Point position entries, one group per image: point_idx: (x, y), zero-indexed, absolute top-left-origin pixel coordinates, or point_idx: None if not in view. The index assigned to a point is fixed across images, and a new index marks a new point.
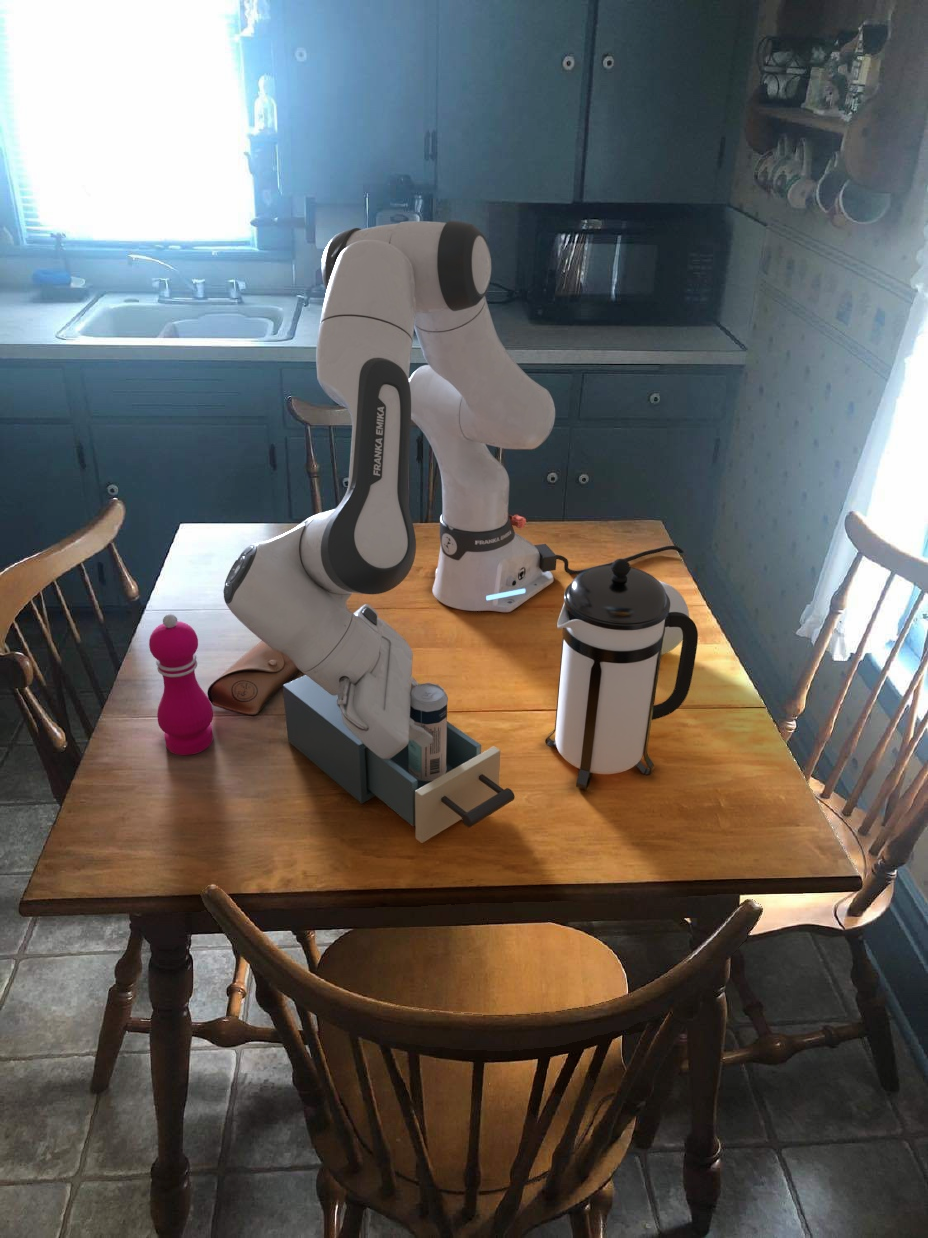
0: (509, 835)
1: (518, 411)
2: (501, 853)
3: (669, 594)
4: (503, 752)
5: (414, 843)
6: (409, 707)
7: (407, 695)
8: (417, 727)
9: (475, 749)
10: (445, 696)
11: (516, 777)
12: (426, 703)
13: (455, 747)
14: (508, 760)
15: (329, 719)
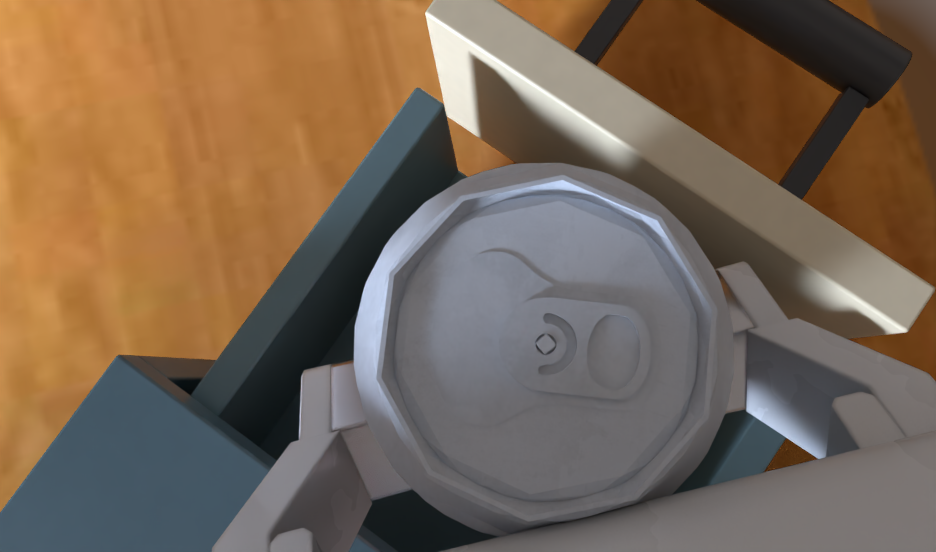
0: (631, 23)
1: None
2: (730, 33)
3: None
4: (165, 135)
5: None
6: (851, 463)
7: (703, 535)
8: (847, 360)
9: (441, 117)
10: (509, 180)
11: (306, 57)
12: (710, 316)
13: (361, 258)
14: (211, 106)
15: None
